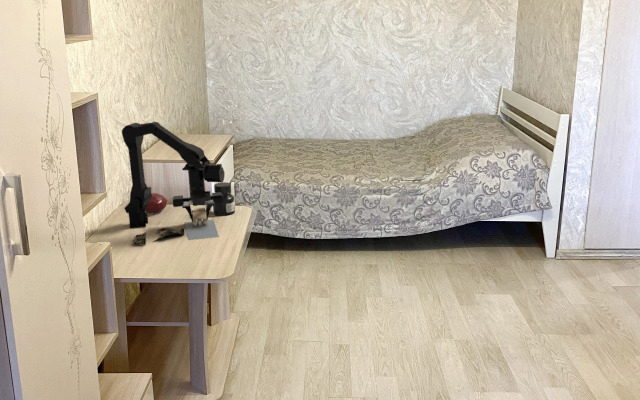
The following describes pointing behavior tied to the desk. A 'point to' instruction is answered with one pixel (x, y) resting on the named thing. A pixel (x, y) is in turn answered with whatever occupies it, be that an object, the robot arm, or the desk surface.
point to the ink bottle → (229, 201)
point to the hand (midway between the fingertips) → (199, 221)
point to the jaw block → (199, 215)
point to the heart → (156, 204)
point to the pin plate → (201, 230)
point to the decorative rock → (163, 232)
